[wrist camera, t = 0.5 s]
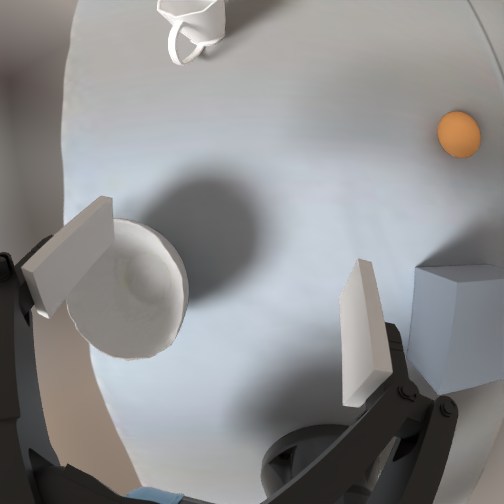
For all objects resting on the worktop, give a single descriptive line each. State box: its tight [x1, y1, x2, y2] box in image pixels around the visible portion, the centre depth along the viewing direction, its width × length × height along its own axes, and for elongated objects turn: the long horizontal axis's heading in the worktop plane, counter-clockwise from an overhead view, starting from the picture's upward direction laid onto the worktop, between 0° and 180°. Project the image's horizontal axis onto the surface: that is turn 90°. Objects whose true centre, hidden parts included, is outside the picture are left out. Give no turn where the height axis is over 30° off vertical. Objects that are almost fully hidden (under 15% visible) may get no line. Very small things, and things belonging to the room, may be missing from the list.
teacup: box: [66, 219, 189, 361], centre depth 28 cm, size 15×12×8 cm
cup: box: [157, 0, 226, 66], centre depth 25 cm, size 7×10×8 cm
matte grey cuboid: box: [407, 264, 504, 395], centre depth 24 cm, size 10×10×9 cm
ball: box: [438, 111, 481, 158], centre depth 25 cm, size 5×5×5 cm
